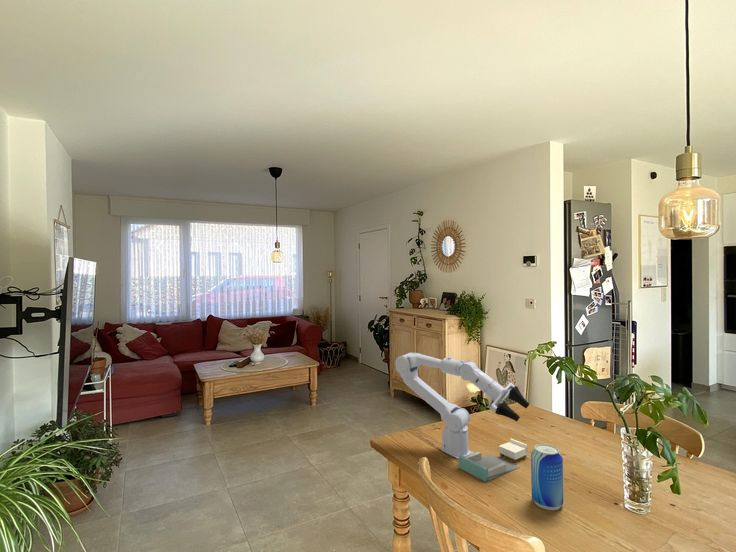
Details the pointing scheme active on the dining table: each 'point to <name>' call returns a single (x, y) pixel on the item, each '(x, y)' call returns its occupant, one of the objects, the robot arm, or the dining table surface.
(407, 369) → the robot arm
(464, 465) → the dock
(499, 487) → the dining table surface
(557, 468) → the beer can
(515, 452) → the cream notched block
